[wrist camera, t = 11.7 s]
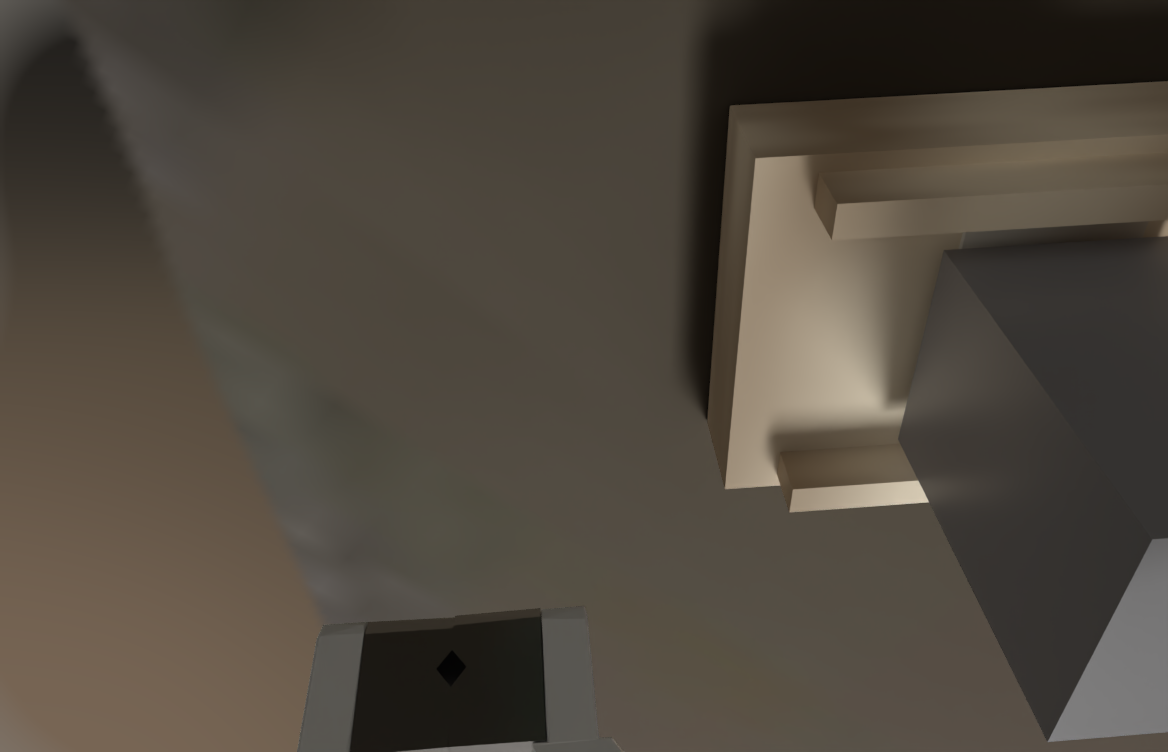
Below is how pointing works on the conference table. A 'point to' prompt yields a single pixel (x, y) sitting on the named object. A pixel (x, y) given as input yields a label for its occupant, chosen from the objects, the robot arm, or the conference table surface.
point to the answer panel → (892, 257)
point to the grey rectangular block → (1056, 467)
